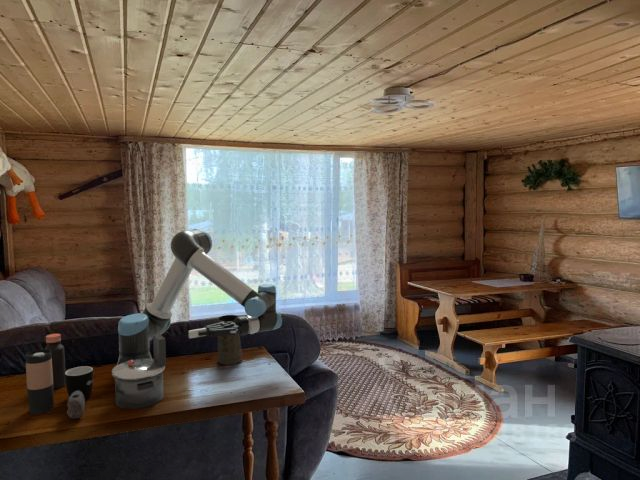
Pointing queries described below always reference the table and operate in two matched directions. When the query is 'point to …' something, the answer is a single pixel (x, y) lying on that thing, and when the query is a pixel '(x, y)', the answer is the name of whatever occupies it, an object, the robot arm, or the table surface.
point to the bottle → (57, 359)
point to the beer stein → (229, 344)
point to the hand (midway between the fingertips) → (189, 334)
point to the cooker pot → (139, 392)
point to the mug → (79, 380)
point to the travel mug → (39, 381)
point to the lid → (144, 363)
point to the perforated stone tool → (76, 405)
